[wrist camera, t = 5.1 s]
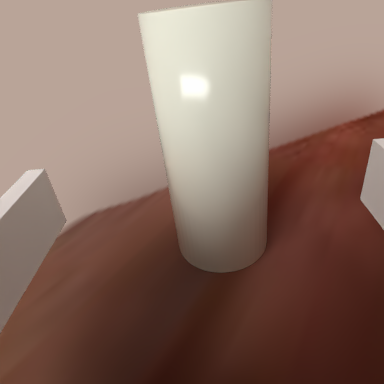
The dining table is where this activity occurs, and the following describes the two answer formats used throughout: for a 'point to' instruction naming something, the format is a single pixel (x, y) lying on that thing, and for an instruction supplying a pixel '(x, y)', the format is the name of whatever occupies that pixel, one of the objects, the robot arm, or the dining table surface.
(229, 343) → the dining table surface
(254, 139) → the canister
